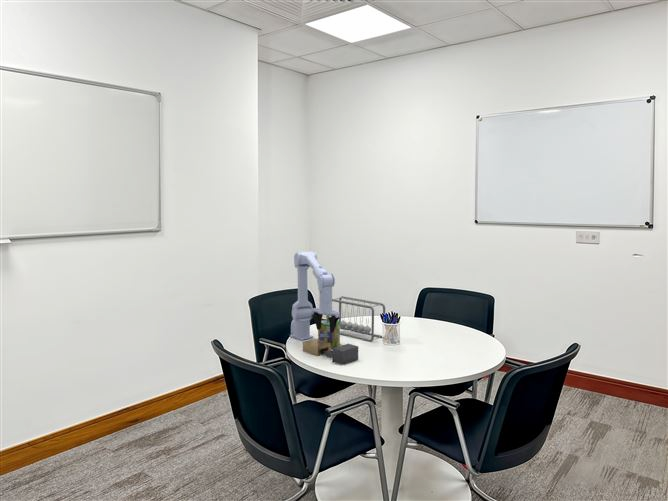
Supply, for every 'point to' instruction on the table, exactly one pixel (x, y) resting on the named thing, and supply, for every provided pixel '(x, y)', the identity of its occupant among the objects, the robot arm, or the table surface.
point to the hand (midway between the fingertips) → (325, 330)
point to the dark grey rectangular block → (343, 354)
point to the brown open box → (316, 346)
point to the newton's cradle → (355, 326)
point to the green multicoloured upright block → (329, 333)
